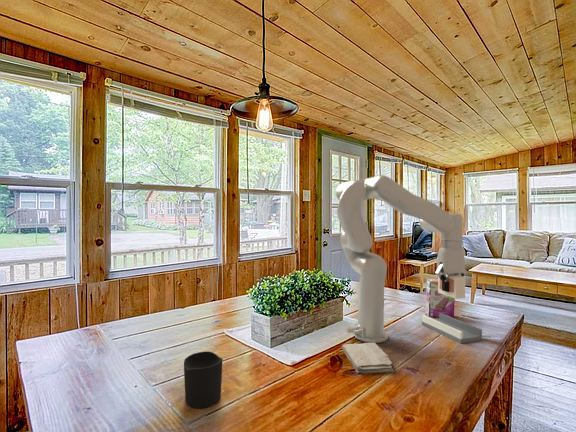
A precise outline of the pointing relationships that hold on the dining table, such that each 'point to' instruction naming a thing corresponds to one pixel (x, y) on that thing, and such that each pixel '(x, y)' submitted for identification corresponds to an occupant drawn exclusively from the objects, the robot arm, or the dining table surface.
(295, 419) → the dining table surface
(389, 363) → the washcloth
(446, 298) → the candy bar box
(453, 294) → the product box
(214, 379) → the pen holder
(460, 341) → the shelf
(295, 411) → the dining table surface
